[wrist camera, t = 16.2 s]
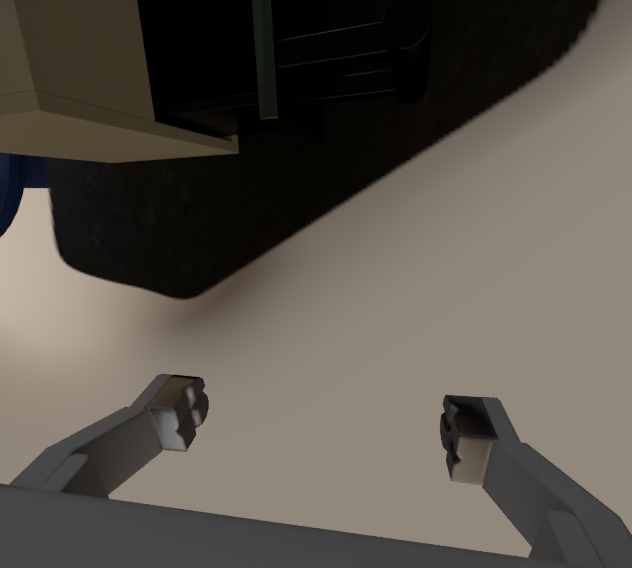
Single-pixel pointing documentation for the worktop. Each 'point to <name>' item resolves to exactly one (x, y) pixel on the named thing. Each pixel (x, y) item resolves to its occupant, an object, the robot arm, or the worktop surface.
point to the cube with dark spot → (84, 86)
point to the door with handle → (274, 62)
